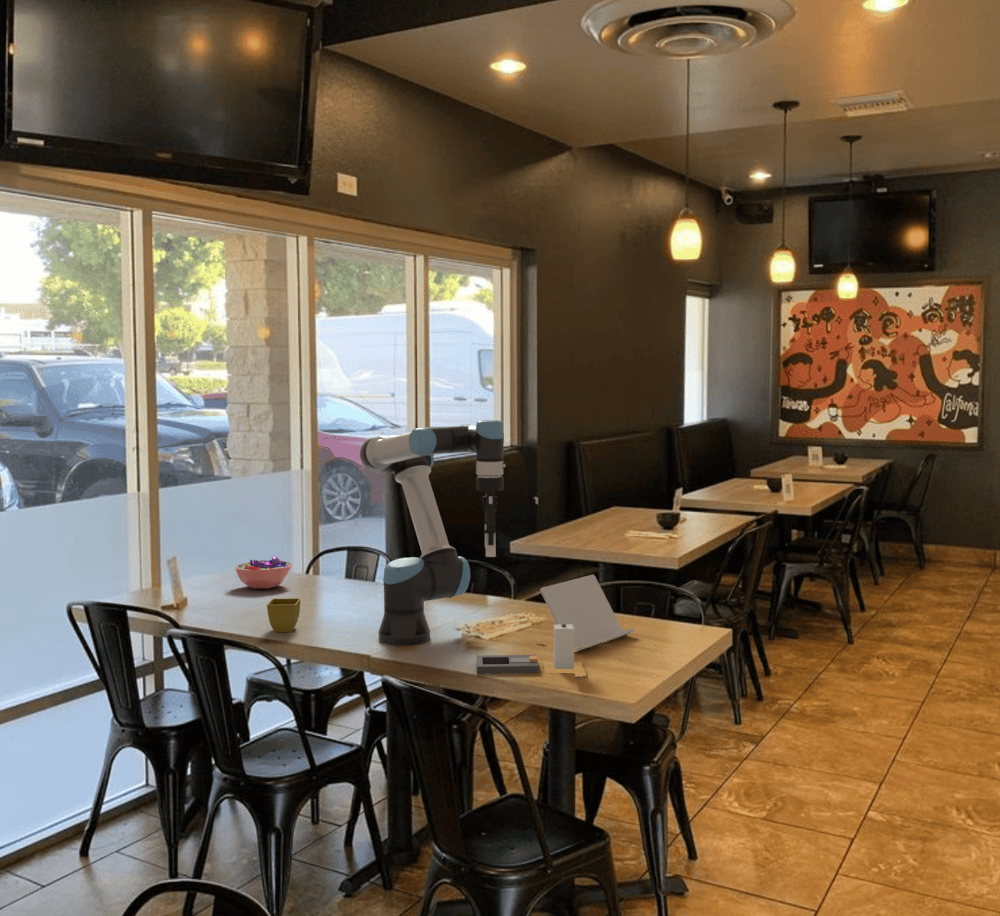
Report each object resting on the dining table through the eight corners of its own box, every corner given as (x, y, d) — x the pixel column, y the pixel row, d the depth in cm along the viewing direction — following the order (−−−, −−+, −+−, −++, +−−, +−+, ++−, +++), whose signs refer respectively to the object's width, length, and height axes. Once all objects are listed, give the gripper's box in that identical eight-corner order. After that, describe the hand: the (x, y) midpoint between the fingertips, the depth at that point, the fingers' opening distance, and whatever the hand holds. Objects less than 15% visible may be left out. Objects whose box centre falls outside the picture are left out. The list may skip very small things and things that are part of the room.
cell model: (235, 584, 384) (234, 553, 383) (291, 581, 389) (290, 551, 388) (235, 594, 368) (234, 562, 367) (293, 591, 373) (293, 559, 372)
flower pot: (273, 626, 325) (272, 598, 324) (301, 626, 326) (300, 597, 325) (267, 634, 317) (266, 604, 316) (296, 634, 317) (295, 604, 316)
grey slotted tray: (477, 677, 274) (476, 663, 274) (476, 666, 284) (476, 652, 284) (538, 677, 275) (538, 662, 274) (536, 665, 285) (536, 651, 284)
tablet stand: (534, 644, 306) (534, 586, 304) (586, 627, 325) (586, 572, 323) (583, 656, 294) (584, 596, 292) (635, 638, 313) (635, 581, 311)
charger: (554, 669, 278) (554, 626, 276) (553, 664, 282) (553, 622, 281) (573, 669, 278) (574, 626, 276) (572, 664, 282) (572, 622, 281)
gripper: (505, 481, 280) (505, 560, 282) (502, 470, 305) (502, 543, 307) (476, 481, 280) (477, 560, 282) (475, 470, 304) (476, 543, 307)
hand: (490, 551), depth 294 cm, fingers open, 13 cm apart
